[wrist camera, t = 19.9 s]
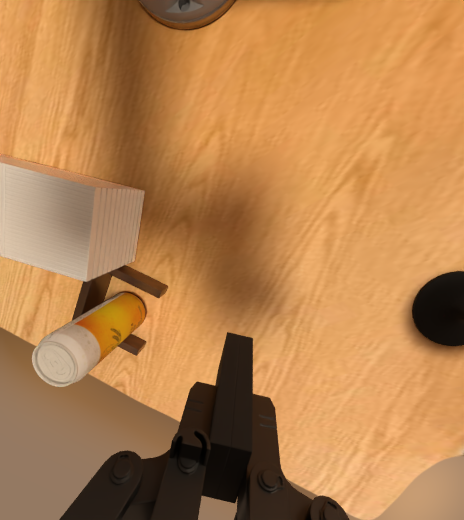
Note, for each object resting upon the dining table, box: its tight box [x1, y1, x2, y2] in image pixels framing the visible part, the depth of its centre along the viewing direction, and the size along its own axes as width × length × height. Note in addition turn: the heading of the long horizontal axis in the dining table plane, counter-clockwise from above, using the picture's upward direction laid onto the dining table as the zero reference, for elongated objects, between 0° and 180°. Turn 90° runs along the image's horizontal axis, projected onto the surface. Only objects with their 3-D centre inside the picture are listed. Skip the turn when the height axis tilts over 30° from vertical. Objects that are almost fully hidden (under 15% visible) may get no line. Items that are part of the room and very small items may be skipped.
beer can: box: [32, 293, 145, 387], centre depth 35 cm, size 6×6×15 cm
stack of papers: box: [0, 154, 145, 282], centre depth 35 cm, size 32×11×11 cm, turn 76°
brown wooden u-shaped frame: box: [72, 265, 168, 356], centre depth 40 cm, size 10×12×5 cm
